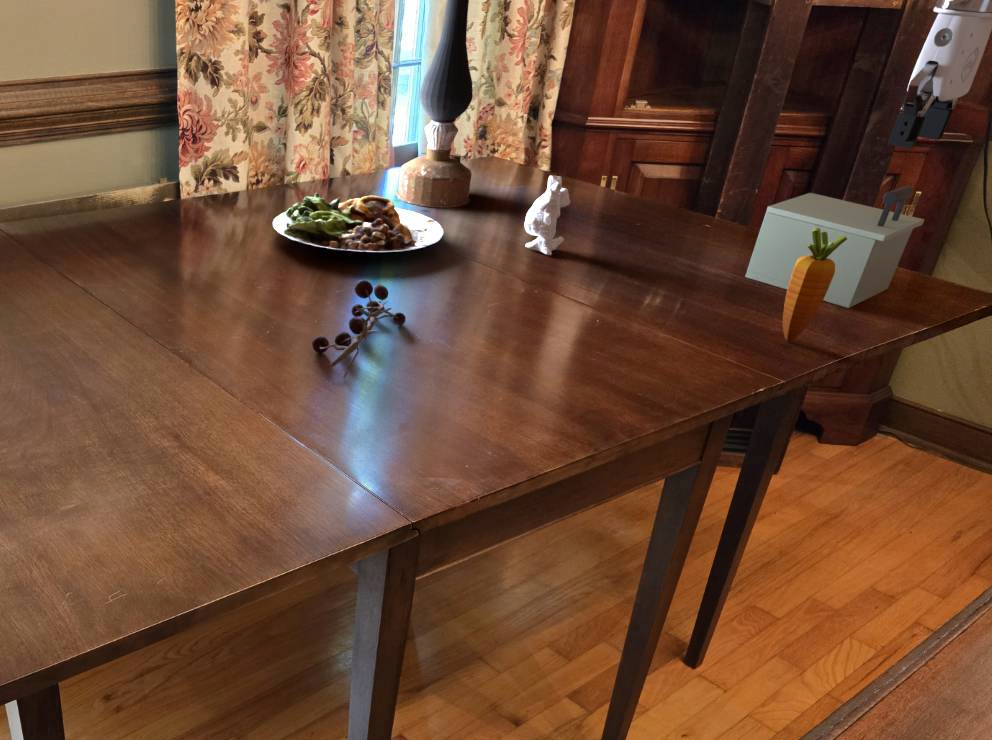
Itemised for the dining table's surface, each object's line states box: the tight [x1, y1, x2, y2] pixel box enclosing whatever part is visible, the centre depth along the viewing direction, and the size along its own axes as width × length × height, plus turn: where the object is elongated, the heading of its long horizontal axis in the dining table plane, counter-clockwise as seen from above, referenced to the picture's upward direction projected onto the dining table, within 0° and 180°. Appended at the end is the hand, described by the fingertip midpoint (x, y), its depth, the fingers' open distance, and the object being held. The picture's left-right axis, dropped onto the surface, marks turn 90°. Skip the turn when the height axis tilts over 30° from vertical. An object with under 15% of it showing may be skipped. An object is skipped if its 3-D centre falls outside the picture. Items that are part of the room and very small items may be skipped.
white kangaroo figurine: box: [524, 174, 571, 256], centre depth 154 cm, size 8×7×12 cm
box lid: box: [765, 185, 925, 241], centre depth 141 cm, size 17×14×6 cm
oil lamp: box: [396, 0, 474, 209], centre depth 169 cm, size 14×15×40 cm
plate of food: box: [272, 192, 444, 253], centre depth 157 cm, size 28×28×6 cm
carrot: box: [782, 228, 847, 343], centre depth 124 cm, size 5×5×15 cm
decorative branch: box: [311, 279, 407, 379], centre depth 122 cm, size 11×9×30 cm
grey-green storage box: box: [744, 211, 914, 309], centre depth 146 cm, size 16×14×10 cm
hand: (914, 142), depth 133 cm, fingers open, 9 cm apart
